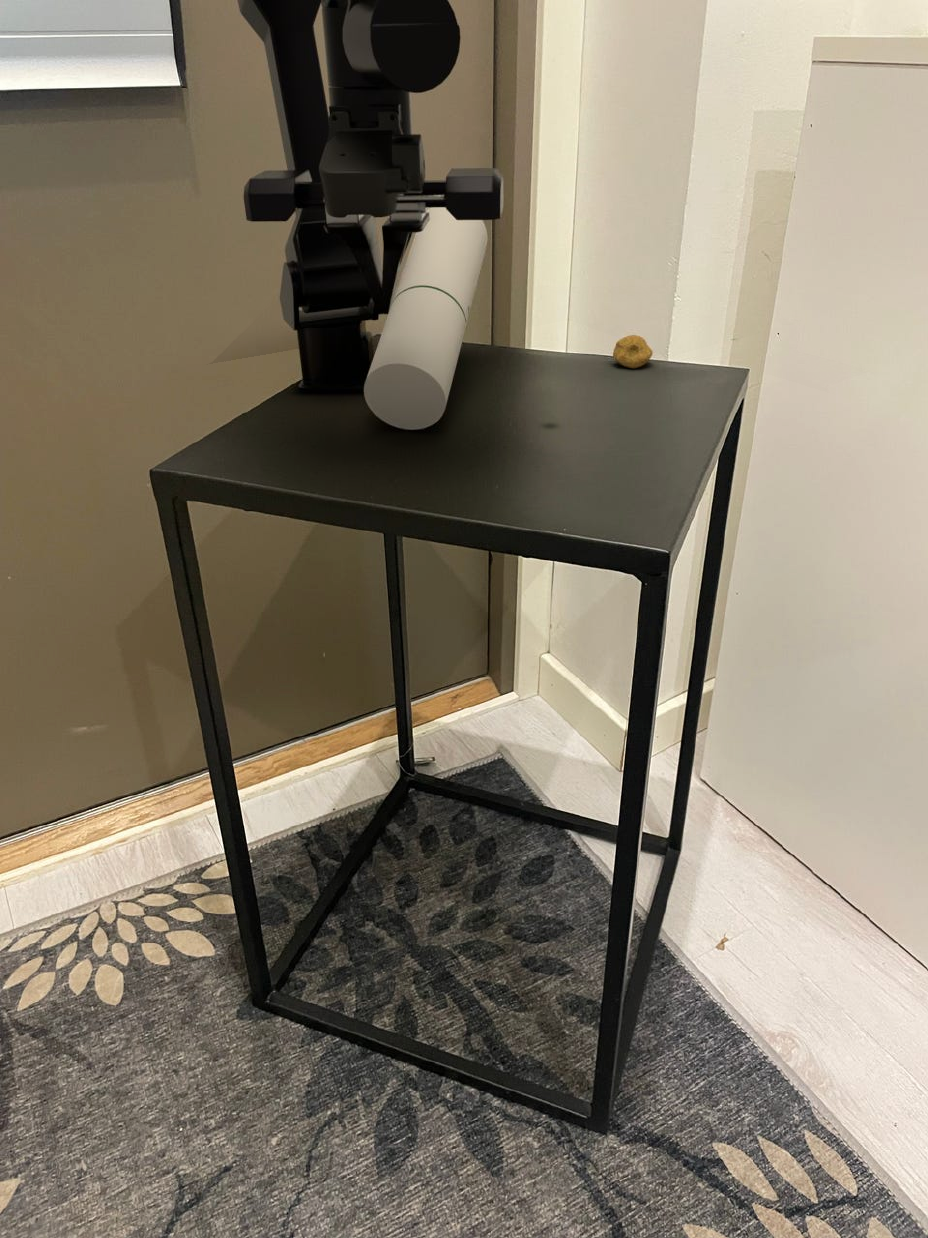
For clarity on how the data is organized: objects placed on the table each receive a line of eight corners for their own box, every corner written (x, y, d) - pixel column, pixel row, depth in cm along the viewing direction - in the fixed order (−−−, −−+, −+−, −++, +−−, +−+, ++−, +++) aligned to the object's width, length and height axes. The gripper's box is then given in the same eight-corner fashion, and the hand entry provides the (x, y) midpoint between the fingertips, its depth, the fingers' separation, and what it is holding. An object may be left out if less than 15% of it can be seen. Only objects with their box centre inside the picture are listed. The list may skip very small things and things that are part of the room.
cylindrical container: (443, 435, 81) (484, 272, 96) (448, 371, 76) (491, 207, 90) (364, 422, 82) (417, 261, 96) (363, 356, 76) (419, 196, 90)
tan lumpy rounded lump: (606, 364, 96) (608, 337, 94) (634, 357, 98) (636, 330, 96) (630, 372, 93) (633, 344, 92) (658, 364, 95) (661, 337, 94)
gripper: (203, 96, 58) (240, 342, 67) (496, 91, 57) (496, 343, 66) (251, 85, 68) (278, 303, 76) (504, 81, 66) (503, 303, 75)
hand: (384, 313), depth 73 cm, fingers closed
